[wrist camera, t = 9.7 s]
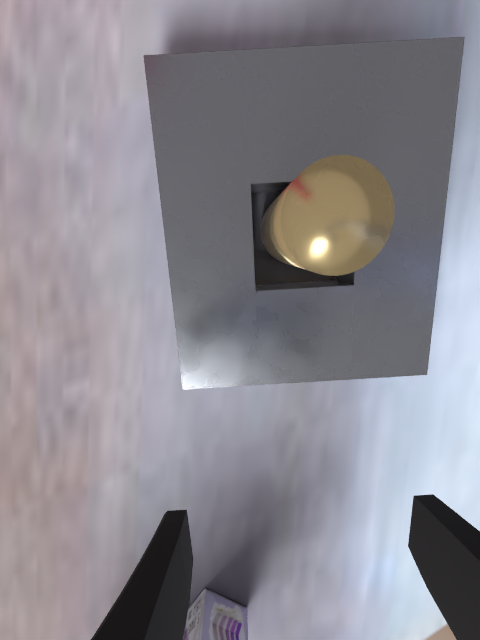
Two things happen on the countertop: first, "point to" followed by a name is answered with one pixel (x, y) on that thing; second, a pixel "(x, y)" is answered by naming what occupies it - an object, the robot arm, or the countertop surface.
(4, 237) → the countertop surface
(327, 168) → the brass cylinder
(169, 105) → the plate
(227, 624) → the cake pan box
